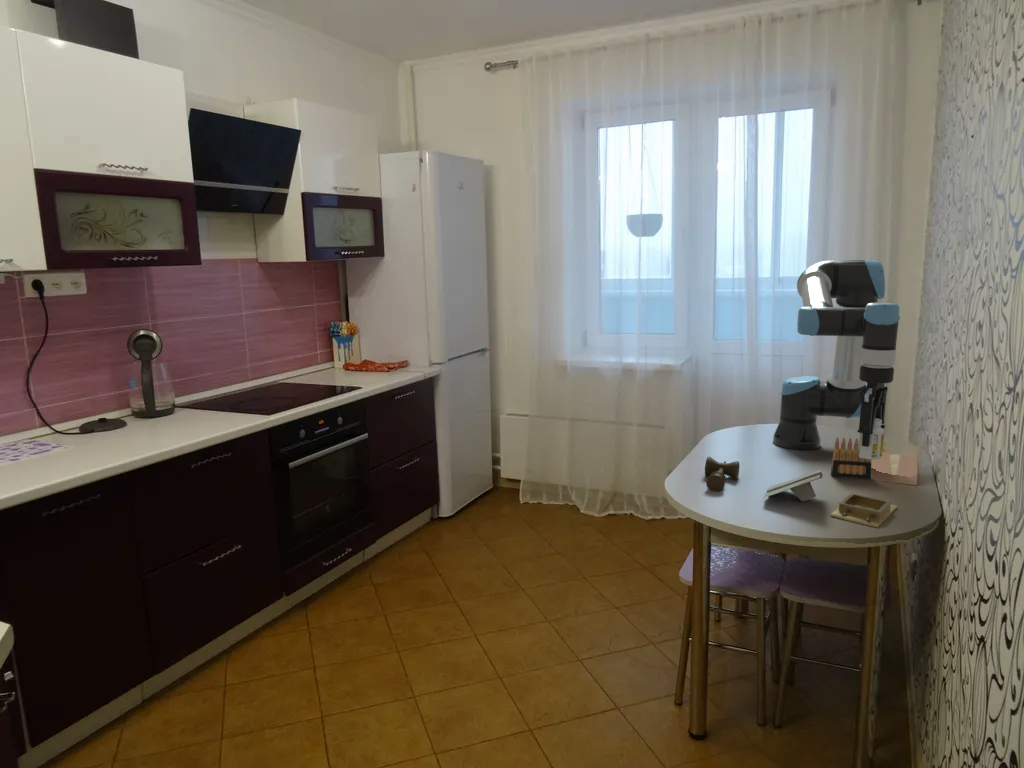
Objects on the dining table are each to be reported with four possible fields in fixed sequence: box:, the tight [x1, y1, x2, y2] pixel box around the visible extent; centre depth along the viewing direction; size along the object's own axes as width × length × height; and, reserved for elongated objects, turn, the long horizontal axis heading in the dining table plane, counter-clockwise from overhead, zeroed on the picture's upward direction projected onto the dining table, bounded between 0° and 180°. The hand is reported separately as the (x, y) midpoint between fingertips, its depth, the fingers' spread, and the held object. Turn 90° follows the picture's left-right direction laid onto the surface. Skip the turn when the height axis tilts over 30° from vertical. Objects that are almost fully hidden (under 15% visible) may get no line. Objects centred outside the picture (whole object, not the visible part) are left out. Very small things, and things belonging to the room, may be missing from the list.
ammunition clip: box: [830, 436, 873, 480], centre depth 205 cm, size 11×2×12 cm, turn 74°
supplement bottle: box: [858, 418, 885, 460], centre depth 176 cm, size 5×5×10 cm
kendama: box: [704, 456, 740, 493], centre depth 204 cm, size 6×10×20 cm
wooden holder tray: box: [830, 492, 898, 528], centre depth 179 cm, size 17×11×3 cm, turn 137°
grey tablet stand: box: [763, 469, 824, 502], centre depth 188 cm, size 16×9×15 cm
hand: (869, 455), depth 177 cm, fingers closed on supplement bottle, 5 cm apart
